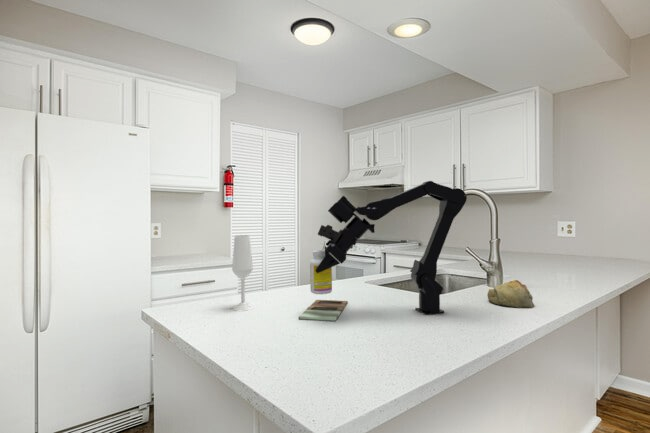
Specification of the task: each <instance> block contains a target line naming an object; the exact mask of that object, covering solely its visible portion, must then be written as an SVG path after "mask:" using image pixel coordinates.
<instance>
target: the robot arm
mask: <svg viewBox="0 0 650 433" xmlns="http://www.w3.org/2000/svg"><path fill="white" fill-rule="evenodd" d="M425 196H429V197H431V198H432V199H434V200H437V201H439V209H438V211H439V214H438V216H437V219H436V222H435V225H434V227H433V230H432V233H431V235H430V237H429V241H428V243H427V245H426V248H425V250H424V253H423V255H422V257H421V258H420V259H419V260H417V259H414V261H413V265H412V267H411V269H410V270H409V272H410V273H411V274H410V278H411V280H412V283H414V285H416V287H417V289H418V291H419V292H418V293H419V294H418V307H415V311H416V312H417V311H418V312H420V313H422V314H424V315H436V314H444V313H445V310H442V309H441V298H440V295H441V294H442V293H443V290H444V288H443V286H442V285H441V284H440V283H439V282H437V280H436V278H437V271H438V270H437V269H438V267H437V265H438V260H439V257H440V255H441V252H442V250H443V247H444V245H445V243H446V239H447V237H448V234H449V231H450V229H451V227H452V224H453V222H454V219H455V218H456V216H457V215H458V214H459V213H460V212H461V211H462V209H463V207H464V205H465V204H466V203H467V199H468V195H466V192H465V191H464V190H463V189H462V188H458V187H457V188H452V187H448V186H447V185H444V184H439V183H436V182H434V181H433V180H427V181H424V182H423V183H421V184H419V185H417V186H414V187H412V188H409V189H406V190H405V191H402V192H400V193H398V194H395V195H393V196H390V197H387V198H382V199H378V200H374V201H369V202H367V203H365V205H364V206H357V207H355V206H354V205H353V203H351V202H350V200H348V198H347V197H346V196H345V195H342V196H341V197H340V198H339V199H338V200H337V201H336V202H335V203H334V204H332V206H330V208H329V209H328V210H327V211H328V212H329V213H330V215H331V216H333V218H334V219H335V220H337V221H338V223H340V224H342V223H343V222H344V224H347V225H346V226H345V227H344V228H342V229H340V230H338V231H336V230H334V229H333V226H332V225H330V224H327V225H323V224H321V225H320V227H319V230H318V232H317V235H318V236H320V237H323V238H326V239H328V241H327V242H326V243H325V245H324V250H325V257H324V258H323V260H322V261H321V263H320V264H319V266H318V267H317V269H316V270H315V271H316V272H317V273H319V272H322V271H324V270H326V269H328V268H333V267H336V266H338V265H340V264H341V265H342V264H343V263H344V262H345V261H346V260H347V253H348V252H349V250H351V248H352V247H353V246H356V244H357V242H358V241H359V239H361V238H362V237H363V236H364V235H365V234H366V233H367V231H369V232H370V233H372V234H375V233H376V232H375V225H376V224H374V223H370V222H369V221H368V220H370V221H378V220H380V219H382V218H383V217H385V216H386V215H388V214H390V213H391V212H392V211H394V210H395V209H397V208H399V207H402V206H404V205H407V204H408V203H411V202H413V201H416V200H418V199H421V198H423V197H425ZM358 215H360V216H364V217H365V218H364V217H363V218H362V219H361V218H360V217H359V216H358Z"/></svg>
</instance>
